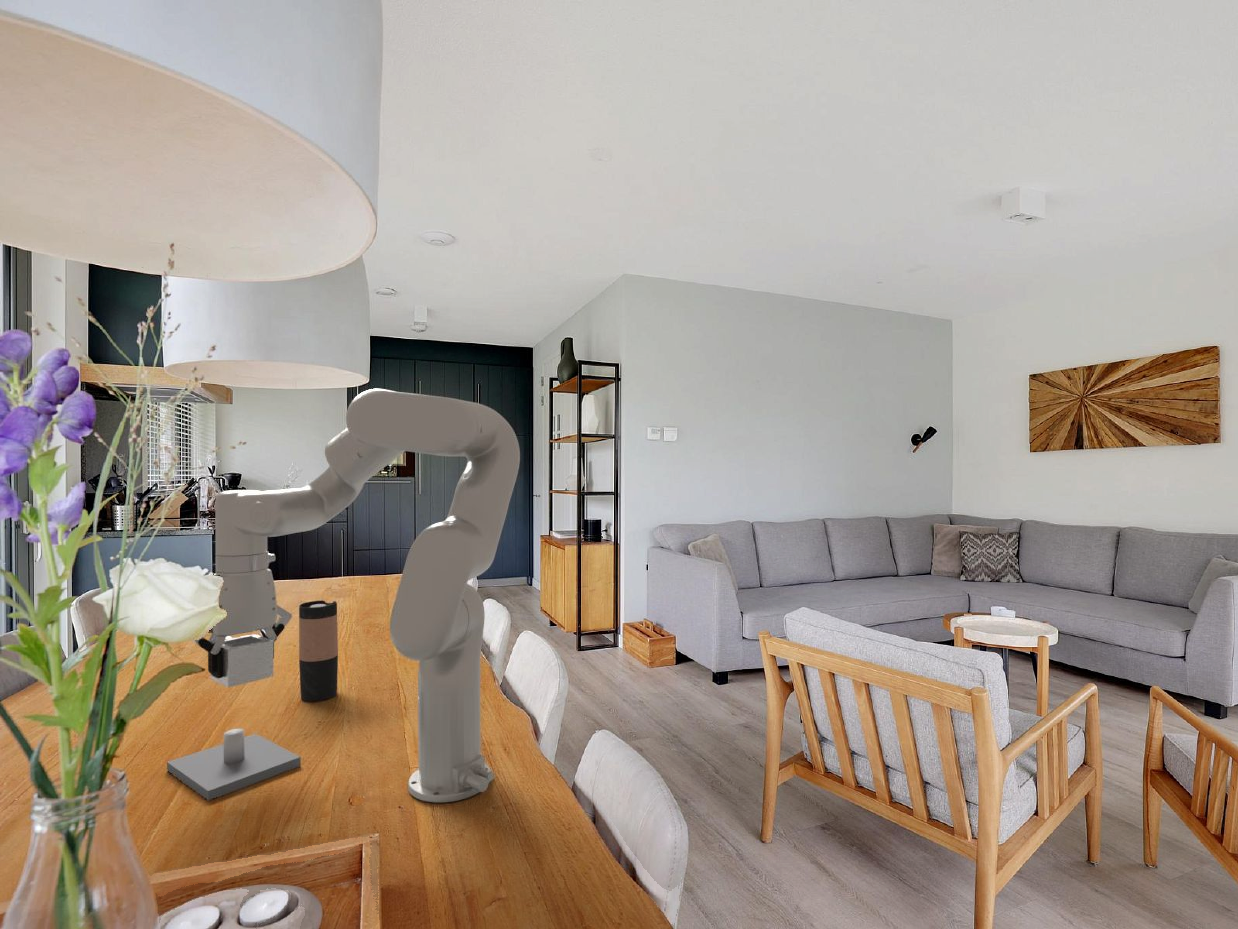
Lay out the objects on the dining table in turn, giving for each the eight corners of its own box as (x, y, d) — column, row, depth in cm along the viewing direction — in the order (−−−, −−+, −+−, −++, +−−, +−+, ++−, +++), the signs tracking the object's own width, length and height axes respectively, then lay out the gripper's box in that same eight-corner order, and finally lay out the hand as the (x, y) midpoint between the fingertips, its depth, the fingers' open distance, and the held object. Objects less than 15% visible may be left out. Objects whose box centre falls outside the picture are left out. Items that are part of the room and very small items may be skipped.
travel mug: (301, 705, 137) (300, 609, 137) (297, 694, 144) (296, 602, 144) (341, 698, 141) (340, 605, 141) (335, 687, 148) (334, 598, 148)
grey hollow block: (273, 676, 111) (273, 640, 111) (228, 687, 105) (228, 650, 105) (242, 662, 118) (242, 629, 118) (198, 672, 113) (198, 637, 113)
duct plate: (300, 766, 110) (300, 730, 110) (208, 801, 99) (207, 761, 99) (255, 741, 120) (255, 708, 120) (167, 771, 108) (166, 734, 108)
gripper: (284, 556, 119) (284, 654, 119) (173, 568, 105) (174, 679, 106) (304, 560, 114) (304, 662, 115) (191, 573, 101) (192, 689, 101)
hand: (242, 669), depth 110 cm, fingers closed on grey hollow block, 7 cm apart
